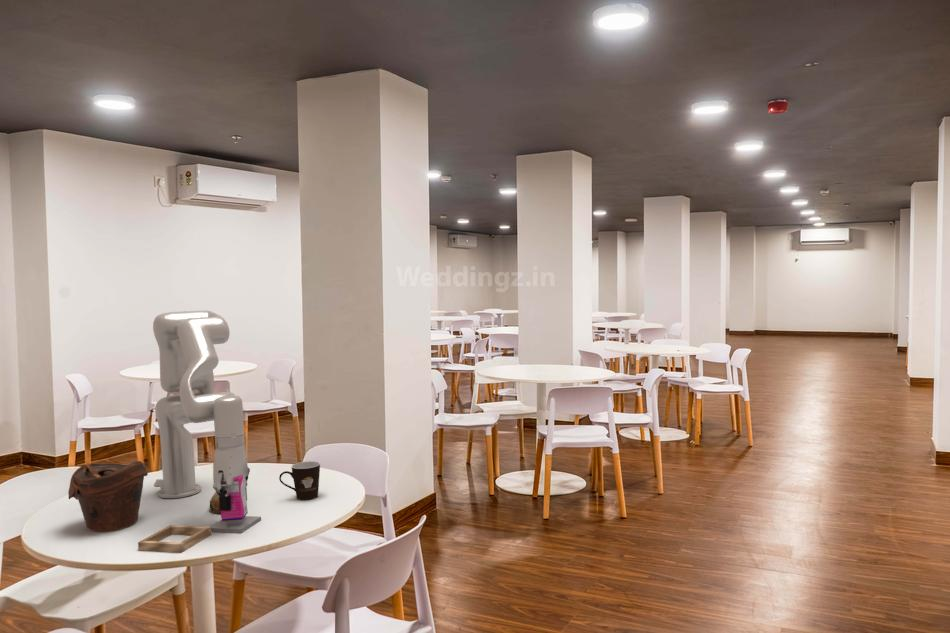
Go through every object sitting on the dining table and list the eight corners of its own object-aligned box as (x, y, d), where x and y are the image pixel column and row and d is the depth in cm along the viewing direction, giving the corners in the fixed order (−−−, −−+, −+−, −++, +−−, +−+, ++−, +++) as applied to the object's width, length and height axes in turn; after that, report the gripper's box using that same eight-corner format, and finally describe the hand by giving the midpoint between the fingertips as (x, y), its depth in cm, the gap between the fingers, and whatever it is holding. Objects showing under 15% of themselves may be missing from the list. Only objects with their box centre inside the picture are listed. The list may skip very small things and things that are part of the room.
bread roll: (210, 520, 207) (197, 499, 204) (238, 497, 214) (226, 477, 211) (226, 527, 201) (213, 505, 198) (254, 503, 207) (242, 482, 204)
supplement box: (226, 514, 193) (224, 473, 192) (248, 513, 193) (245, 472, 193) (220, 521, 187) (218, 479, 187) (242, 520, 188) (240, 478, 187)
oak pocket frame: (138, 550, 175) (137, 542, 175) (170, 532, 187) (170, 525, 187) (181, 552, 172) (181, 544, 172) (211, 534, 184) (210, 526, 184)
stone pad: (208, 531, 187) (207, 527, 187) (229, 518, 196) (229, 515, 196) (241, 533, 184) (241, 529, 184) (261, 520, 194) (260, 516, 194)
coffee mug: (325, 492, 218) (323, 461, 217) (316, 501, 209) (314, 468, 209) (289, 493, 219) (287, 461, 218) (279, 501, 210) (277, 469, 210)
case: (74, 520, 200) (71, 459, 199) (151, 509, 208) (147, 450, 207) (66, 541, 184) (61, 475, 183) (149, 528, 192) (145, 465, 191)
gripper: (235, 434, 199) (239, 495, 200) (198, 449, 182) (202, 516, 183) (259, 434, 197) (262, 496, 198) (223, 449, 180) (227, 517, 181)
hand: (233, 505), depth 190 cm, fingers closed on supplement box, 7 cm apart
